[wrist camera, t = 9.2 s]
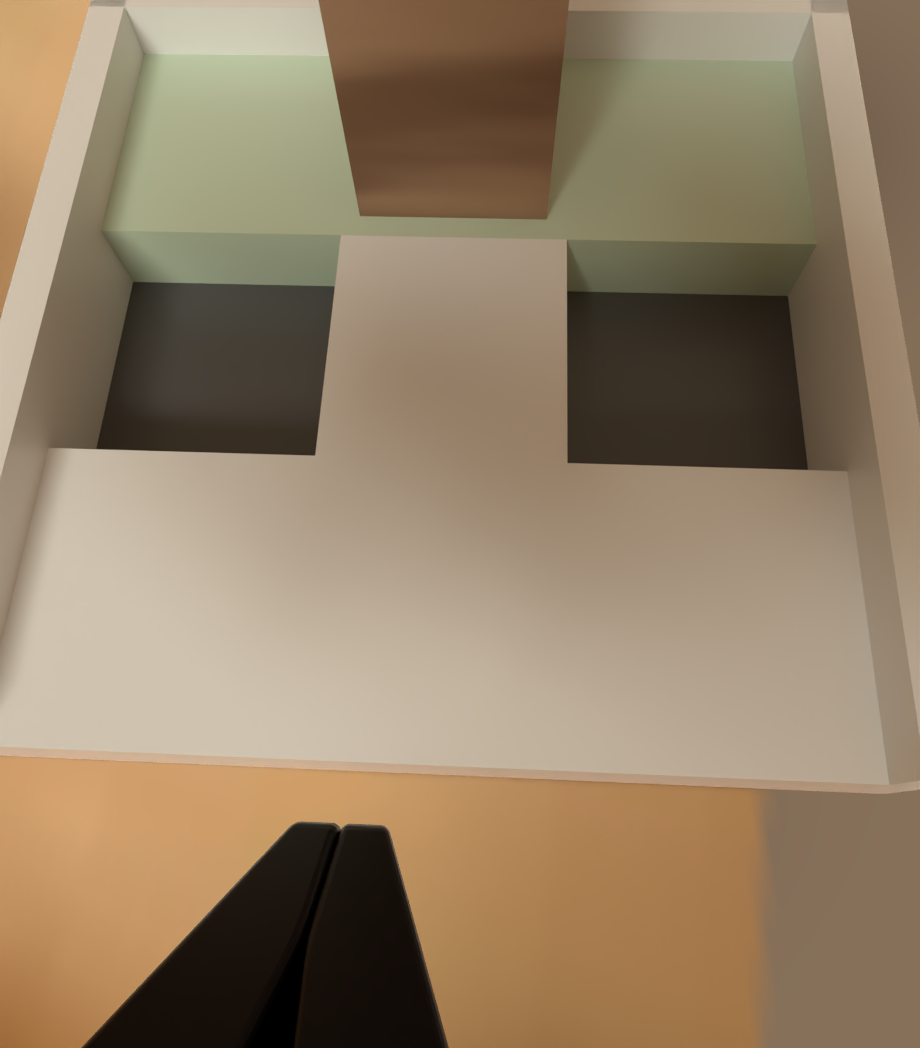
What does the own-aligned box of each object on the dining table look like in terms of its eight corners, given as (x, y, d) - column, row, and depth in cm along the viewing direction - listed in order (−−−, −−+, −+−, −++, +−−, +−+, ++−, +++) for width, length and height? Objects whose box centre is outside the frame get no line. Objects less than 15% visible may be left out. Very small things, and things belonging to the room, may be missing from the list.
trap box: (884, 794, 19) (980, 782, 16) (-6, 755, 20) (-118, 734, 16) (793, 106, 27) (844, -13, 23) (148, 98, 28) (96, -19, 24)
